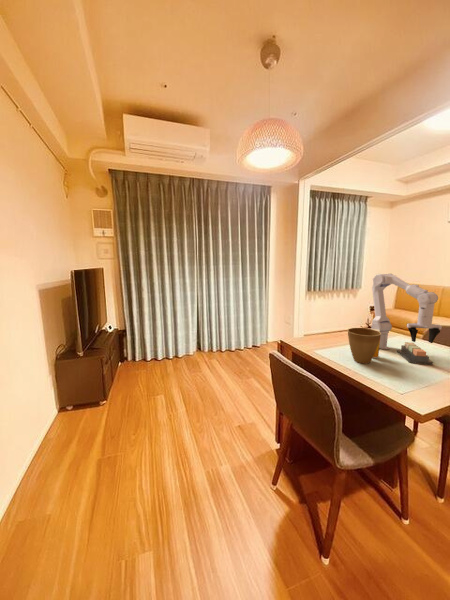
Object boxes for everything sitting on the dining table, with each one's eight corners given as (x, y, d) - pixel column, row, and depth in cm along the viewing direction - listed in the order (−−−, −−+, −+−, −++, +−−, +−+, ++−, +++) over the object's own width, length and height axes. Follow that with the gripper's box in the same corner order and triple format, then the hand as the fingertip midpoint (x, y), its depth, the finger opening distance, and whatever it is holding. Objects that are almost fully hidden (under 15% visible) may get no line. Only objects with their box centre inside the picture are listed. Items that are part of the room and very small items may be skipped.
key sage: (411, 353, 129) (412, 347, 129) (408, 350, 133) (409, 345, 132) (420, 354, 128) (421, 348, 128) (416, 351, 132) (417, 345, 131)
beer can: (380, 358, 130) (382, 331, 127) (367, 358, 131) (370, 331, 129) (375, 354, 136) (378, 328, 133) (363, 353, 137) (366, 328, 134)
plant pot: (372, 356, 133) (375, 328, 130) (382, 368, 119) (385, 336, 116) (342, 354, 137) (345, 326, 134) (348, 365, 123) (351, 334, 120)
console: (409, 362, 125) (410, 355, 124) (396, 351, 140) (397, 345, 139) (432, 365, 122) (433, 357, 121) (417, 353, 137) (418, 346, 137)
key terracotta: (416, 356, 124) (417, 351, 124) (412, 354, 128) (413, 348, 127) (425, 357, 123) (426, 352, 123) (421, 354, 127) (422, 349, 126)
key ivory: (407, 349, 134) (408, 344, 134) (404, 347, 138) (404, 342, 137) (415, 350, 133) (416, 345, 132) (412, 347, 137) (413, 342, 136)
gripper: (413, 317, 121) (409, 343, 123) (447, 318, 118) (443, 345, 120) (405, 314, 127) (403, 339, 130) (438, 315, 124) (434, 340, 127)
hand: (421, 341), depth 125 cm, fingers open, 7 cm apart
